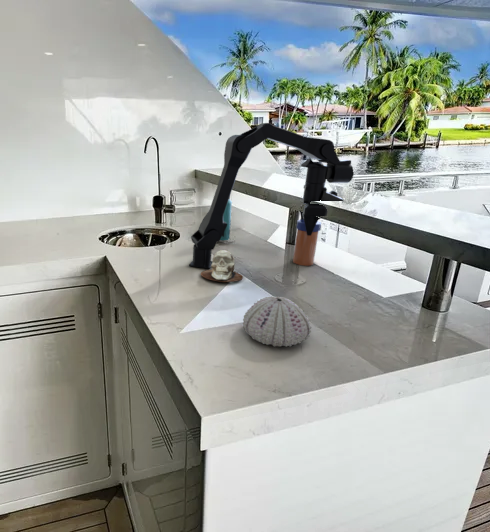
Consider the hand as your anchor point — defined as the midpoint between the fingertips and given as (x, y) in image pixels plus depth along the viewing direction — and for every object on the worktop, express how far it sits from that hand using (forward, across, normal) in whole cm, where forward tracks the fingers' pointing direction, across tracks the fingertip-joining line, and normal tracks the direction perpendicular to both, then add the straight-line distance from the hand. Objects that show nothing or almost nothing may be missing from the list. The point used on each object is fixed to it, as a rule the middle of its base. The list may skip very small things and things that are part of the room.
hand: (307, 232), depth 121 cm
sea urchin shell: (+10, -52, +12) cm, 54 cm away
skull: (+10, -21, +25) cm, 34 cm away
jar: (+10, 0, 0) cm, 10 cm away
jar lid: (-3, 0, 0) cm, 3 cm away
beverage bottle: (+10, +17, +28) cm, 34 cm away
